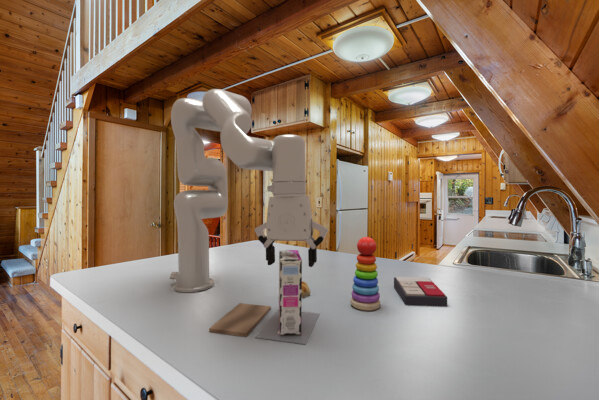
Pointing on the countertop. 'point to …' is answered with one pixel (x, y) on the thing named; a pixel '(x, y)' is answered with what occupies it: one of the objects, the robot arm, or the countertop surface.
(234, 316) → the walnut board
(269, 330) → the tile
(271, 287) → the countertop surface
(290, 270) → the candy bar box
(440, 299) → the dark flat boxy piece
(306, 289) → the pastry
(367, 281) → the stacking toy
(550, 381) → the countertop surface
